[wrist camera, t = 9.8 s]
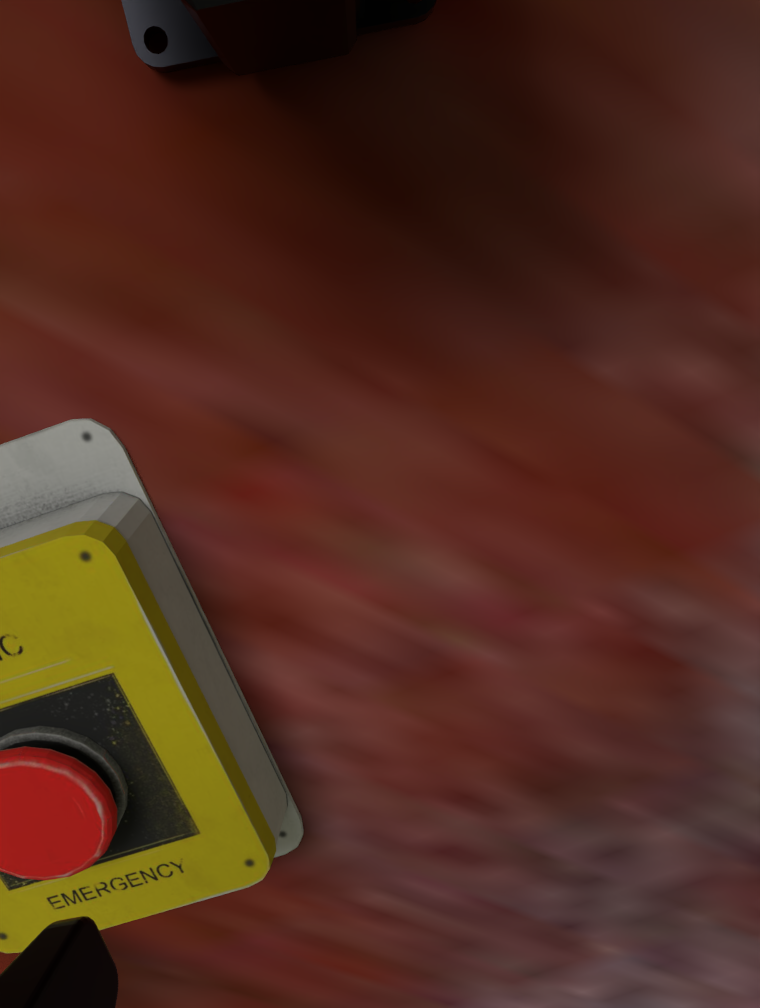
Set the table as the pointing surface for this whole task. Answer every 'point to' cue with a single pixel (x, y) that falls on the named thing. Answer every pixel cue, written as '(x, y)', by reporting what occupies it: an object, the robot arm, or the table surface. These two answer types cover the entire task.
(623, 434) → the table surface
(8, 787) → the emergency button
